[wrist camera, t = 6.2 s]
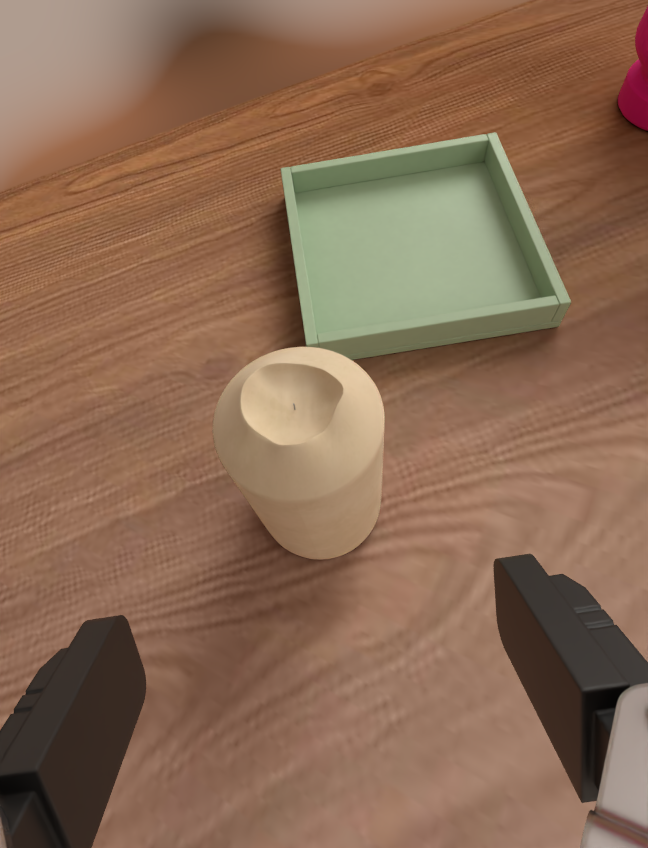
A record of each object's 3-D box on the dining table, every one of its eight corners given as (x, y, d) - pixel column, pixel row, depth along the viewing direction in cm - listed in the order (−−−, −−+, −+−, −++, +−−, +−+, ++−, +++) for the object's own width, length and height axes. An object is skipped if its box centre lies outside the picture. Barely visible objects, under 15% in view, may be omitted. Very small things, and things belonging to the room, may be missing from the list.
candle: (378, 445, 25) (381, 315, 16) (383, 560, 23) (390, 482, 14) (265, 448, 26) (208, 323, 17) (259, 562, 23) (188, 486, 14)
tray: (310, 366, 28) (306, 345, 26) (285, 195, 33) (280, 167, 32) (559, 327, 27) (572, 302, 26) (489, 161, 33) (496, 131, 31)
